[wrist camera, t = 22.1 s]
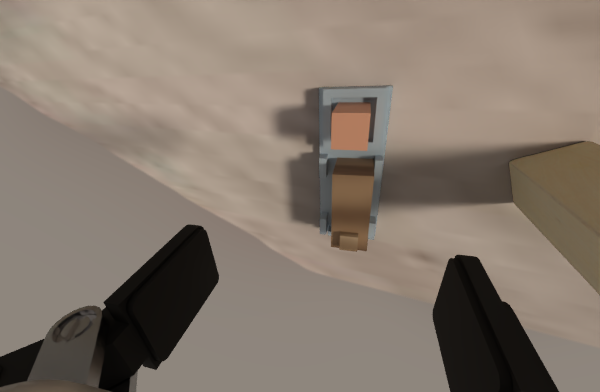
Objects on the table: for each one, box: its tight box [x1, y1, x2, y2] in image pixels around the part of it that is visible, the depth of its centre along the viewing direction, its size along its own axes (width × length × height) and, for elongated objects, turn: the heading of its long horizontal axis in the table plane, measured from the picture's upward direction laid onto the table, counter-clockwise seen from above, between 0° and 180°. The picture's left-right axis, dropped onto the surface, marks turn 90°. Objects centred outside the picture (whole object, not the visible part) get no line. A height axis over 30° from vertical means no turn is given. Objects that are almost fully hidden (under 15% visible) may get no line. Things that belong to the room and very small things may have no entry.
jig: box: [319, 85, 393, 240], centre depth 36 cm, size 22×9×3 cm, turn 2°
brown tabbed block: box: [331, 157, 374, 252], centre depth 35 cm, size 12×5×7 cm, turn 2°
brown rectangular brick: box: [331, 102, 371, 151], centre depth 30 cm, size 4×4×7 cm
